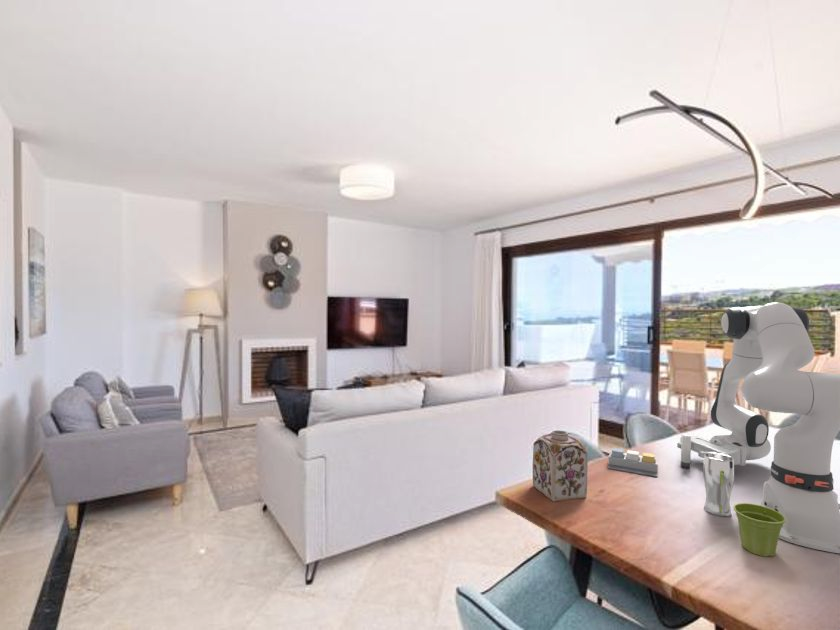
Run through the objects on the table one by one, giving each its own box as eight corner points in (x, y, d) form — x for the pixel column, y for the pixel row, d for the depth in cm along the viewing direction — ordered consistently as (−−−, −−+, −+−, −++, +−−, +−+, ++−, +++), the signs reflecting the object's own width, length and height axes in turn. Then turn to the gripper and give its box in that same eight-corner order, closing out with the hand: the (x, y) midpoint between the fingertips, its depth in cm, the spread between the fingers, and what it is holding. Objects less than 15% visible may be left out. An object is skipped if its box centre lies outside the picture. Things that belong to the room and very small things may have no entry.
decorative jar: (552, 502, 122) (553, 439, 122) (531, 486, 133) (532, 427, 133) (588, 498, 125) (589, 436, 125) (565, 482, 136) (566, 425, 136)
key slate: (622, 461, 150) (623, 452, 150) (611, 459, 152) (611, 450, 152) (623, 457, 153) (623, 449, 153) (612, 456, 155) (612, 447, 155)
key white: (638, 463, 148) (638, 454, 148) (626, 461, 149) (626, 453, 149) (638, 460, 151) (639, 451, 151) (627, 458, 153) (627, 450, 153)
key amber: (654, 466, 145) (654, 457, 145) (642, 464, 147) (642, 455, 147) (654, 462, 148) (654, 454, 148) (642, 461, 150) (642, 452, 150)
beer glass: (703, 513, 116) (704, 458, 116) (700, 503, 122) (702, 450, 122) (735, 519, 113) (736, 462, 113) (730, 509, 119) (732, 454, 119)
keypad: (657, 477, 141) (657, 468, 141) (607, 468, 148) (607, 459, 148) (657, 464, 152) (657, 456, 152) (611, 457, 160) (611, 449, 159)
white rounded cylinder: (690, 469, 148) (691, 437, 148) (681, 467, 150) (681, 436, 149) (690, 466, 151) (690, 435, 151) (680, 465, 152) (681, 434, 152)
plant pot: (786, 567, 92) (787, 526, 92) (732, 551, 98) (732, 513, 98) (783, 548, 100) (784, 510, 100) (733, 534, 106) (734, 499, 105)
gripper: (700, 431, 163) (667, 432, 160) (750, 448, 143) (713, 450, 140) (699, 447, 163) (667, 449, 161) (749, 467, 143) (713, 469, 140)
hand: (689, 450), depth 150 cm, fingers open, 8 cm apart
